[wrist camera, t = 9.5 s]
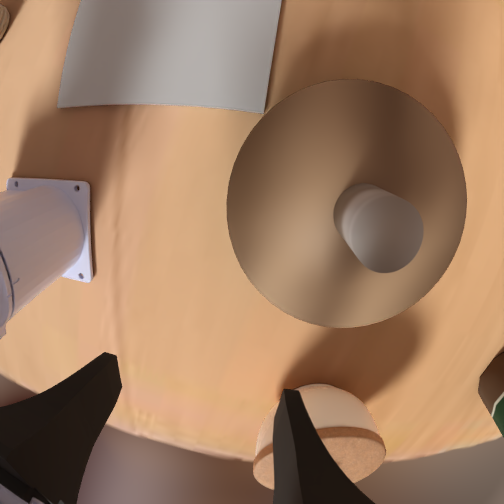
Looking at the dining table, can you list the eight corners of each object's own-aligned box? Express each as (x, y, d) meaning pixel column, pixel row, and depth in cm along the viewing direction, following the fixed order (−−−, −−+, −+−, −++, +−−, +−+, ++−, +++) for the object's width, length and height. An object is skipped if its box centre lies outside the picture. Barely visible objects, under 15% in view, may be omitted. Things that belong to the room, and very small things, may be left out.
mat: (61, 108, 17) (57, 107, 16) (104, -49, 12) (101, -52, 11) (263, 113, 17) (263, 112, 16) (292, -60, 12) (292, -64, 11)
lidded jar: (244, 426, 27) (237, 503, 18) (275, 354, 23) (278, 451, 15) (337, 437, 28) (349, 507, 19) (386, 372, 24) (417, 452, 15)
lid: (223, 312, 17) (212, 362, 13) (237, 67, 12) (227, 39, 8) (427, 321, 17) (456, 362, 13) (470, 116, 12) (520, 116, 8)
